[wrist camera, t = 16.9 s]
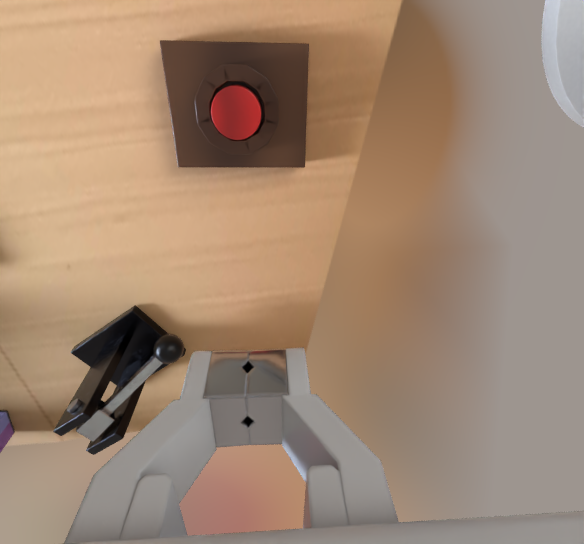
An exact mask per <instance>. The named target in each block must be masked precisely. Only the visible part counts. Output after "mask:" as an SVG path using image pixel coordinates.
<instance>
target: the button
mask: <svg viewBox="0 0 584 544" xmlns="http://www.w3.org/2000/svg"><path fill="white" fill-rule="evenodd" d="M211 116H212V120H213V123H214V125H215V127H216V128H217V130H218V131H219V132H220V133H221V134H223V135H224V136H226V137H227V138H230V139H234V140H242V139H246V138H248V137H250V136H251V135H253V134H254V133H255V131H256V130H257V129H258V127H259V124H260V121H261V105H260V102H259V100H258V98H257V96H256V95H255V94H254V93H253V92H252V91H251V90H250V89H248V88H247V87H244V86H241V85H230V86H227V87H225V88H223V89H222V90H220V91H219V92H218V93H217V94H216V96H215V97H214V99H213V102H212V105H211Z"/></svg>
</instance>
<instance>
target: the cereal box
mask: <svg viewBox="0 0 584 544" xmlns="http://www.w3.org/2000/svg"><path fill="white" fill-rule="evenodd" d="M14 432H15V431H14V428H13V425H12V423H11V420H10V417H9V414H8V412H7V411H2V410H0V452H1V451H2V449H3V448H4V447H5V445H6V444H7V442H8V441H9V439H10V438H11V437H12V435H13V434H14Z"/></svg>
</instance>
